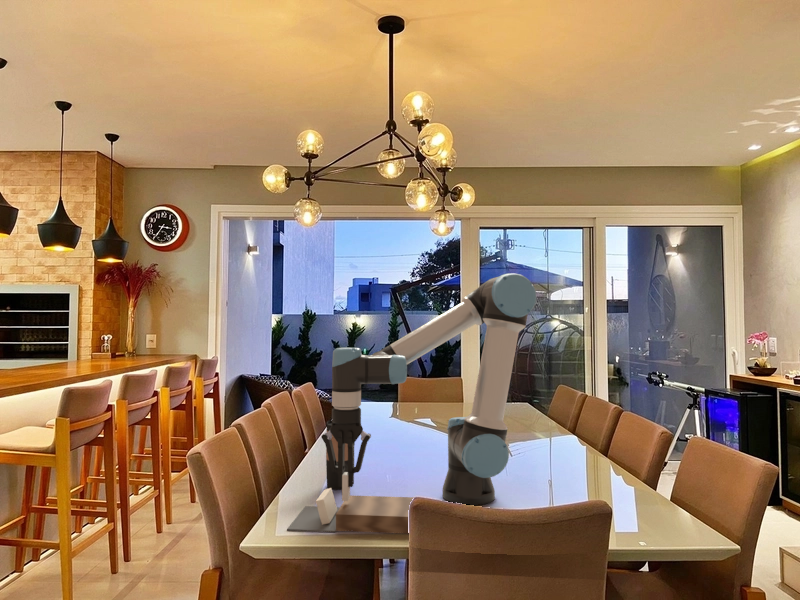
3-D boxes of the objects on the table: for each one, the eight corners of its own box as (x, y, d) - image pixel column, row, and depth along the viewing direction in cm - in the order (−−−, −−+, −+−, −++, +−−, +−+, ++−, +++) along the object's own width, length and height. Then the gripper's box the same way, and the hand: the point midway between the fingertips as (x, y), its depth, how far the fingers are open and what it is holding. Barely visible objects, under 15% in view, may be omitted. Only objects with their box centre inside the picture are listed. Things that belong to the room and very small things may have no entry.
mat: (348, 509, 141) (348, 507, 141) (334, 532, 125) (334, 530, 125) (305, 507, 143) (305, 506, 143) (286, 530, 127) (286, 529, 127)
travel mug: (351, 482, 165) (351, 419, 166) (350, 490, 157) (350, 423, 158) (327, 482, 165) (327, 419, 166) (324, 490, 157) (324, 424, 158)
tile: (331, 487, 138) (324, 489, 139) (323, 499, 130) (315, 501, 130) (337, 509, 138) (330, 511, 138) (329, 522, 129) (322, 524, 129)
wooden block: (421, 512, 138) (420, 497, 138) (417, 534, 124) (417, 517, 125) (347, 510, 140) (347, 495, 141) (335, 530, 126) (335, 514, 127)
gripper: (373, 405, 138) (373, 495, 137) (325, 404, 139) (324, 493, 138) (368, 410, 130) (368, 505, 129) (318, 409, 131) (317, 503, 130)
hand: (346, 499), depth 133 cm, fingers closed
